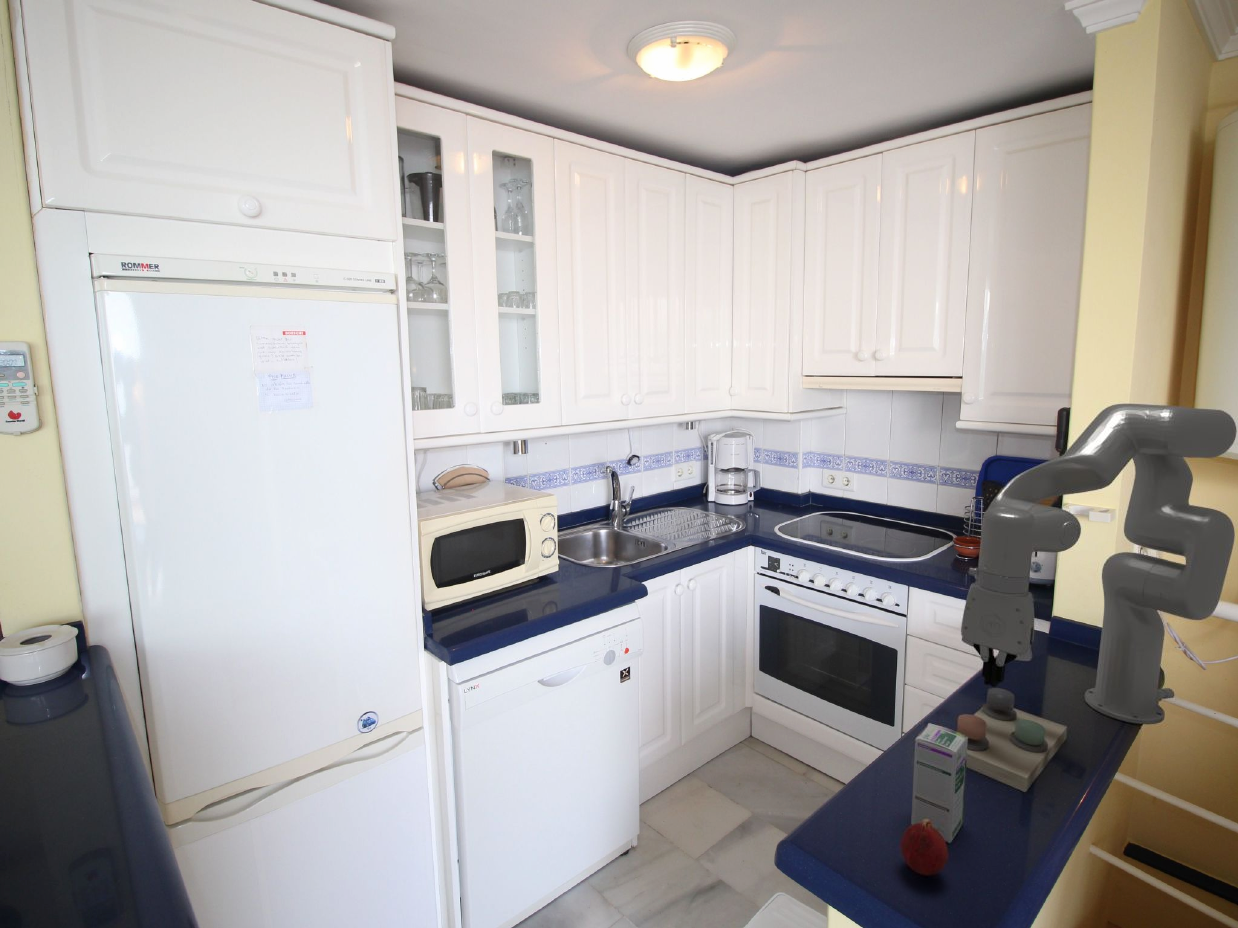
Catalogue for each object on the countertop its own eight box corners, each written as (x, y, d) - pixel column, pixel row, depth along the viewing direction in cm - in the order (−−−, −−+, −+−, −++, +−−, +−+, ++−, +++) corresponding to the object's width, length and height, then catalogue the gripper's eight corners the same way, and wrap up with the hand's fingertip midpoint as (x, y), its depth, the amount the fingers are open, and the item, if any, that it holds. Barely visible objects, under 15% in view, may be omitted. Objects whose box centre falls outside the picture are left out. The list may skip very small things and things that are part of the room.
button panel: (988, 711, 129) (990, 696, 129) (1065, 739, 120) (1067, 723, 119) (942, 756, 115) (943, 739, 114) (1025, 792, 105) (1027, 774, 105)
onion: (940, 897, 85) (944, 842, 84) (894, 876, 88) (897, 823, 87) (949, 869, 89) (954, 817, 88) (905, 851, 93) (908, 800, 92)
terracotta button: (962, 722, 117) (963, 711, 117) (989, 732, 114) (990, 721, 114) (953, 731, 115) (953, 720, 114) (979, 742, 111) (980, 730, 111)
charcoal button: (991, 695, 127) (992, 685, 126) (1017, 704, 123) (1018, 693, 123) (983, 703, 124) (984, 693, 123) (1008, 713, 121) (1009, 701, 120)
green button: (1019, 727, 117) (1020, 716, 117) (1047, 738, 114) (1048, 726, 113) (1010, 737, 114) (1011, 725, 114) (1039, 748, 111) (1040, 736, 111)
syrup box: (951, 844, 94) (958, 752, 92) (908, 825, 98) (915, 736, 96) (963, 824, 98) (970, 735, 96) (921, 806, 102) (928, 720, 100)
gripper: (947, 575, 113) (938, 674, 115) (1047, 598, 102) (1034, 707, 105) (963, 566, 118) (955, 662, 120) (1060, 587, 107) (1048, 692, 110)
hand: (992, 682), depth 113 cm, fingers closed
